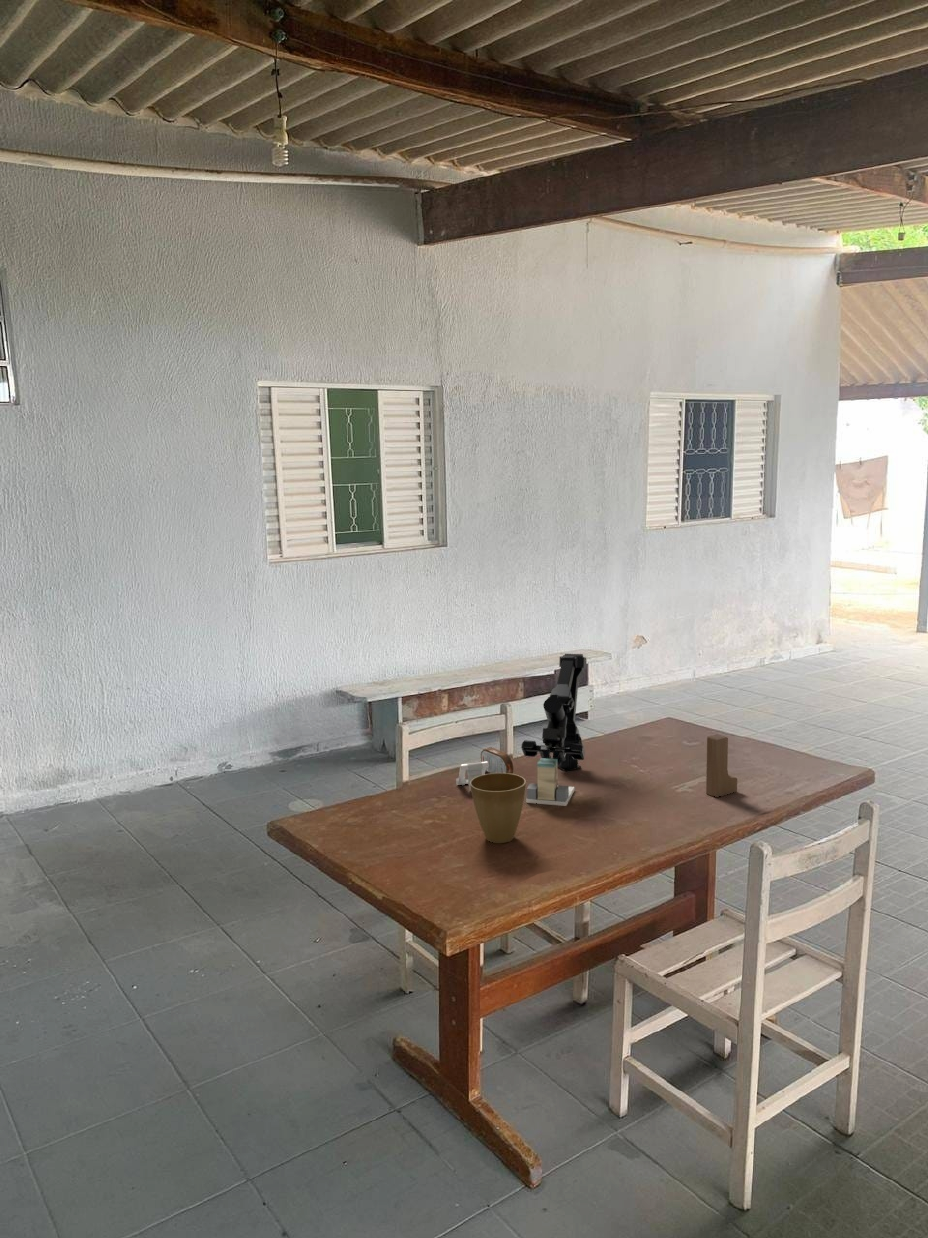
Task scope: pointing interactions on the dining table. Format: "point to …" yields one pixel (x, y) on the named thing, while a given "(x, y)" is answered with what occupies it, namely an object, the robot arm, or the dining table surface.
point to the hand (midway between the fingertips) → (549, 775)
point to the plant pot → (498, 804)
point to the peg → (547, 778)
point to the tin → (497, 761)
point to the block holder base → (561, 799)
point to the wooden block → (718, 767)
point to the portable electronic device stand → (471, 772)
